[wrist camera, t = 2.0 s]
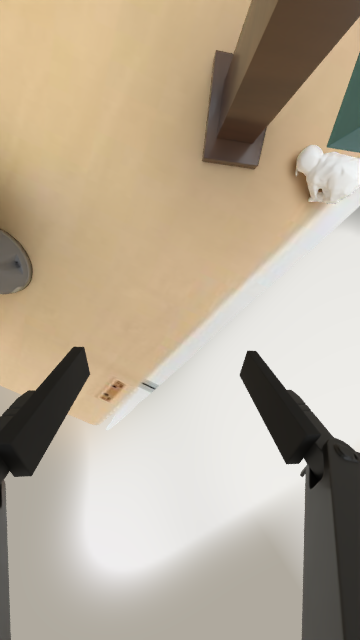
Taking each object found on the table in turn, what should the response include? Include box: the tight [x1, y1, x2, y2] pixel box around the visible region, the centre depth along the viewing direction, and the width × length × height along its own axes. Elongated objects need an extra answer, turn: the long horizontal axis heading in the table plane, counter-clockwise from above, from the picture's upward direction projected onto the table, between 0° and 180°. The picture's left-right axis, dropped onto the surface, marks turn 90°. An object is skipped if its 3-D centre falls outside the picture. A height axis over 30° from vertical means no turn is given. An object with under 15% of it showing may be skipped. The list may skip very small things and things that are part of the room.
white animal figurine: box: [295, 145, 360, 204], centre depth 31 cm, size 6×8×12 cm
